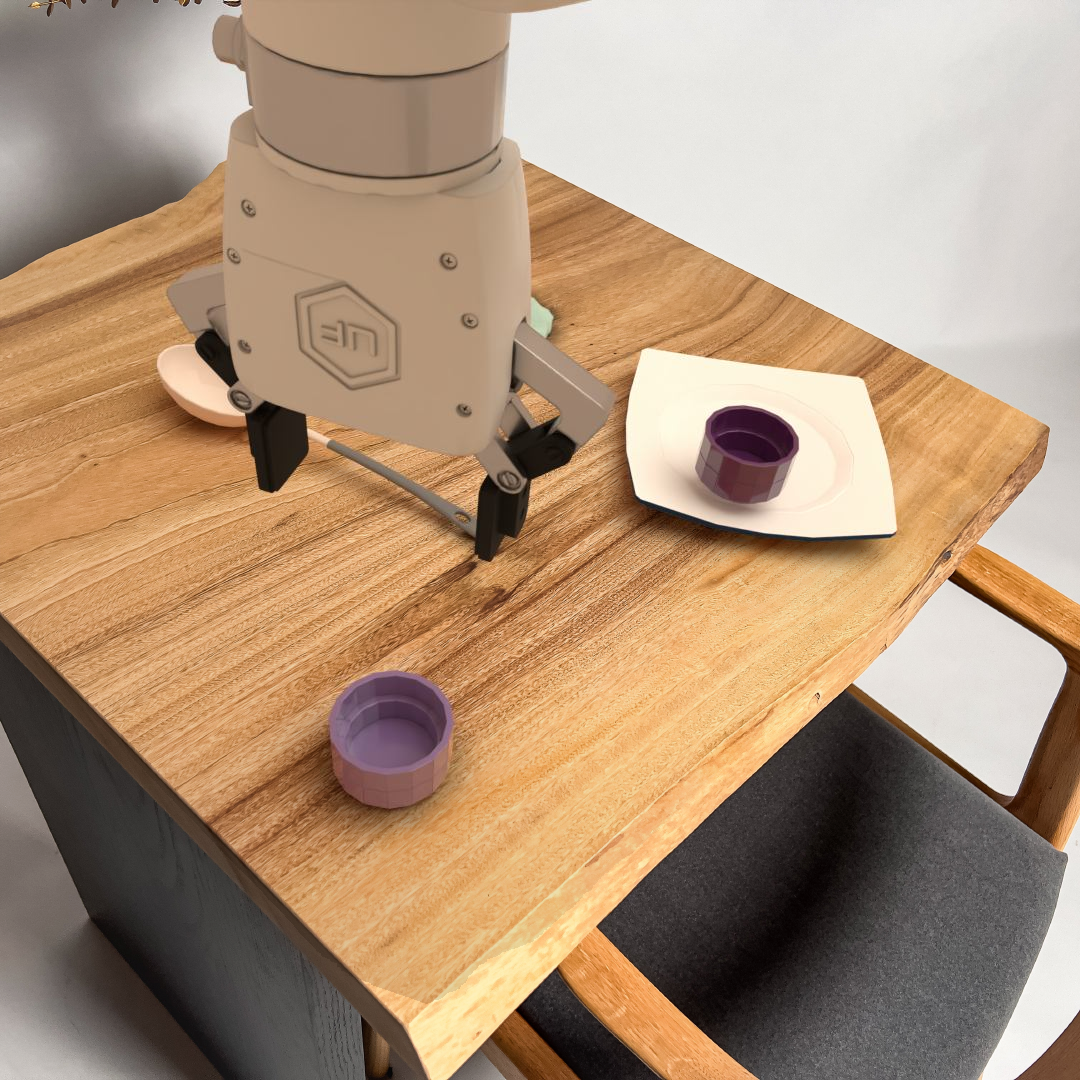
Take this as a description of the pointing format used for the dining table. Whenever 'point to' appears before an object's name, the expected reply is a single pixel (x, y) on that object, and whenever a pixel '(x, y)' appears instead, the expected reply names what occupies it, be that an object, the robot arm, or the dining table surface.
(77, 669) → the dining table surface
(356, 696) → the lavender bowl
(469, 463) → the dining table surface
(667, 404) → the plate
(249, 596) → the dining table surface
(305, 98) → the robot arm
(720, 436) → the plum bowl
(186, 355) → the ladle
